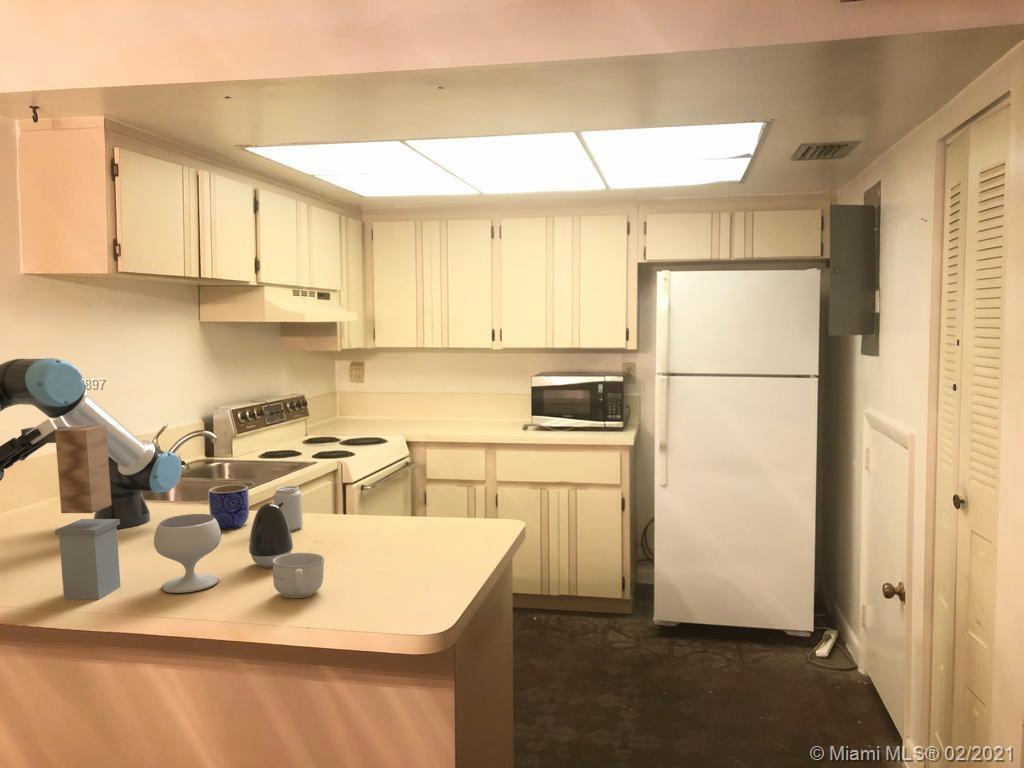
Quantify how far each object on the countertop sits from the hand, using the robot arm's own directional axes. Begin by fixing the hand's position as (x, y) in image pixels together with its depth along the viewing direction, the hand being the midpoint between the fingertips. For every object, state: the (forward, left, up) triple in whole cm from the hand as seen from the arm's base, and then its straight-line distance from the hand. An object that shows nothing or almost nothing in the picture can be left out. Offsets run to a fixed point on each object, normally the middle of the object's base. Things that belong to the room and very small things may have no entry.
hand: (58, 422), depth 170 cm
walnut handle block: (0, 0, -19) cm, 19 cm away
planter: (-49, -27, -38) cm, 68 cm away
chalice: (-20, +15, -38) cm, 46 cm away
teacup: (-33, +40, -38) cm, 65 cm away
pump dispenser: (-40, +15, -38) cm, 58 cm away
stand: (-3, +4, -38) cm, 39 cm away
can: (-59, -11, -38) cm, 71 cm away
